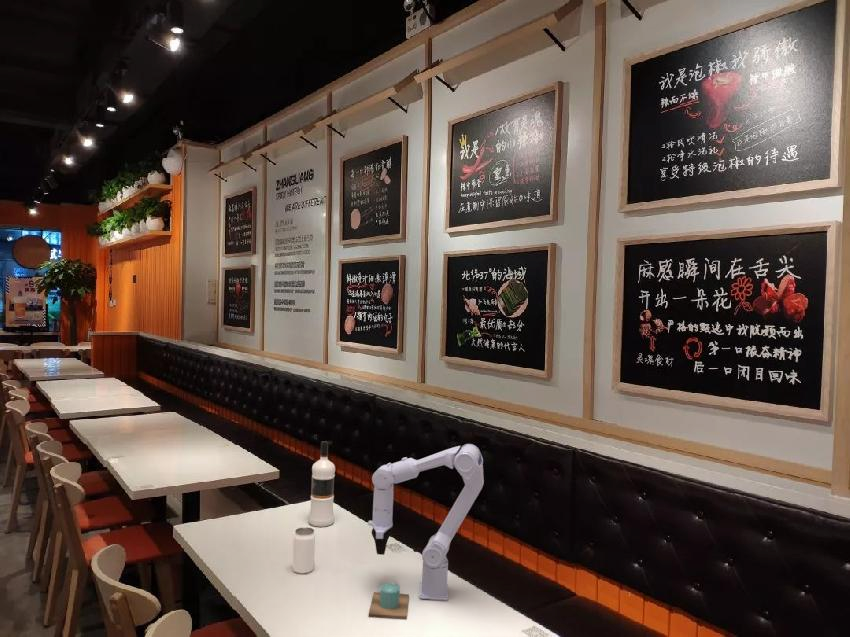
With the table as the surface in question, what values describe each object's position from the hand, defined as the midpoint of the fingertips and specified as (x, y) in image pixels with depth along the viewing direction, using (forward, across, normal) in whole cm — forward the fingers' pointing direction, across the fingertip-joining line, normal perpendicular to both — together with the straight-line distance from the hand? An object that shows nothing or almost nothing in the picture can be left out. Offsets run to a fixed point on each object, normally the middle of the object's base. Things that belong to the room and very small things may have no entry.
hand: (380, 553), depth 183 cm
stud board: (+9, +12, +4) cm, 16 cm away
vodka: (+10, -45, -26) cm, 53 cm away
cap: (+9, +12, +4) cm, 15 cm away
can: (+10, -7, -24) cm, 27 cm away
